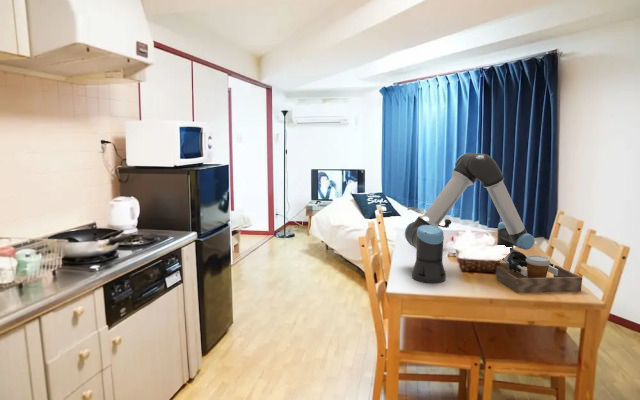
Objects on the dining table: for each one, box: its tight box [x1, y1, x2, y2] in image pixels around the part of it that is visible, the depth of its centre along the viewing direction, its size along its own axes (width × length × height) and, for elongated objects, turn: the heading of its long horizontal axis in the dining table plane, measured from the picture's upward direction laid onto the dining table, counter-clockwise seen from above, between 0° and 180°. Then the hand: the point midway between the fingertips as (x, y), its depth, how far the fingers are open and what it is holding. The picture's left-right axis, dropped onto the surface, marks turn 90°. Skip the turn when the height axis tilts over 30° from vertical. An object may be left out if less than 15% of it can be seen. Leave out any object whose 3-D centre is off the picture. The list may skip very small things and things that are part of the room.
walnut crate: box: [495, 264, 583, 294], centre depth 178 cm, size 28×17×6 cm, turn 93°
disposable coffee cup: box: [526, 255, 551, 278], centre depth 178 cm, size 10×10×12 cm
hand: (541, 272), depth 175 cm, fingers open, 13 cm apart
